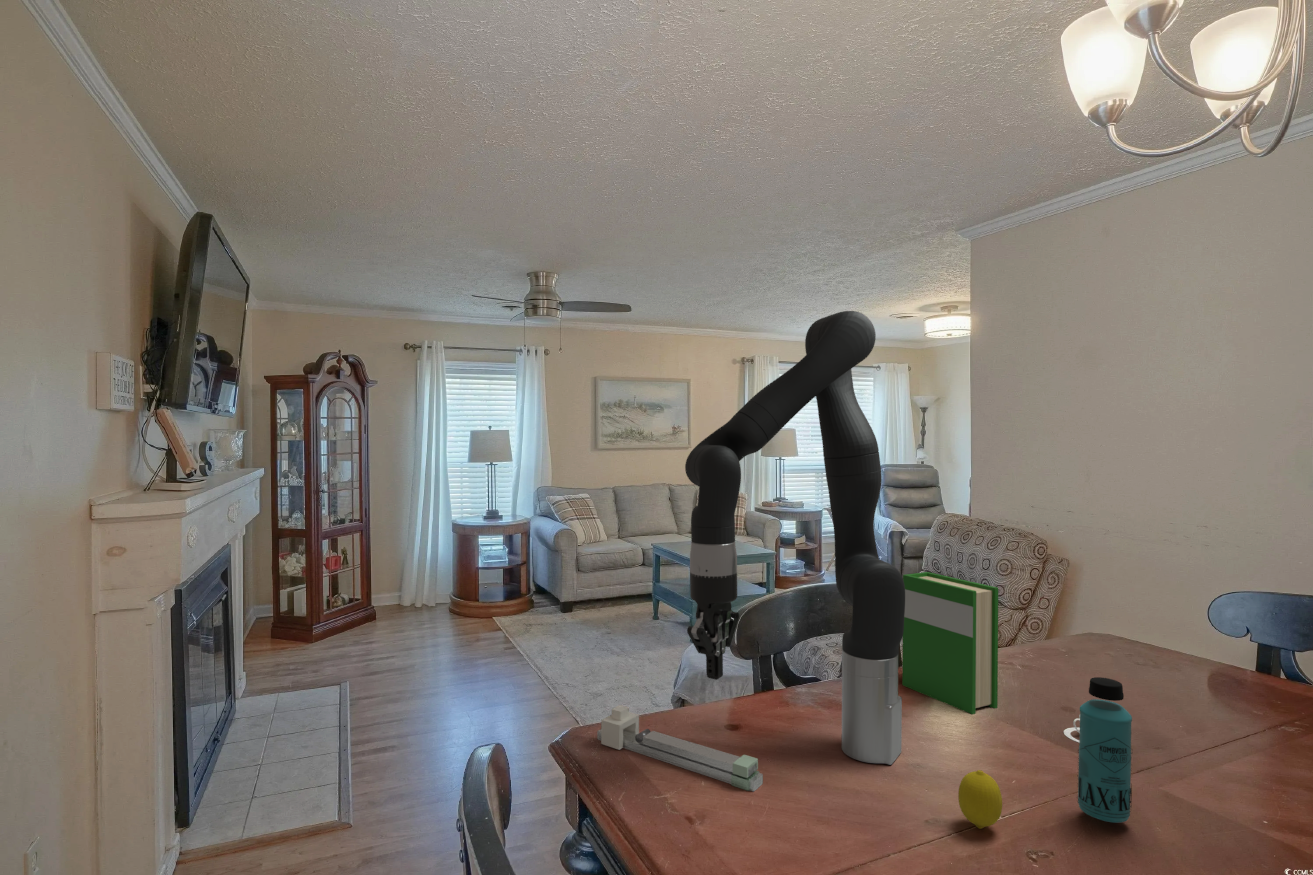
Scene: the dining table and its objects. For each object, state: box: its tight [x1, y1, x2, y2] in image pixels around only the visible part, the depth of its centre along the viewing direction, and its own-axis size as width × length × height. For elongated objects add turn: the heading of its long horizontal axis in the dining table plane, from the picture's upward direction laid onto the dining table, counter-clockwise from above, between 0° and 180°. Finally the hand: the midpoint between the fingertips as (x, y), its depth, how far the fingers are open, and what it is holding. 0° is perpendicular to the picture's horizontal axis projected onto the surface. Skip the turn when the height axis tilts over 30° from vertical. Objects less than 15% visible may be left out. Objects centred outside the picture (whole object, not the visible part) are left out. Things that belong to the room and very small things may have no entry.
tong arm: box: [643, 730, 759, 778], centre depth 114 cm, size 20×4×2 cm, turn 55°
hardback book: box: [901, 571, 999, 715], centre depth 145 cm, size 18×7×24 cm, turn 27°
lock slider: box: [600, 704, 640, 751], centre depth 123 cm, size 4×6×6 cm
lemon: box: [957, 769, 1003, 830], centre depth 97 cm, size 6×6×8 cm
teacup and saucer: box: [1063, 714, 1080, 744], centre depth 126 cm, size 9×8×4 cm
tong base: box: [596, 728, 764, 792], centre depth 116 cm, size 31×4×3 cm, turn 55°
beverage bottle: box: [1076, 676, 1133, 824], centre depth 98 cm, size 6×7×20 cm
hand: (714, 677), depth 112 cm, fingers closed
